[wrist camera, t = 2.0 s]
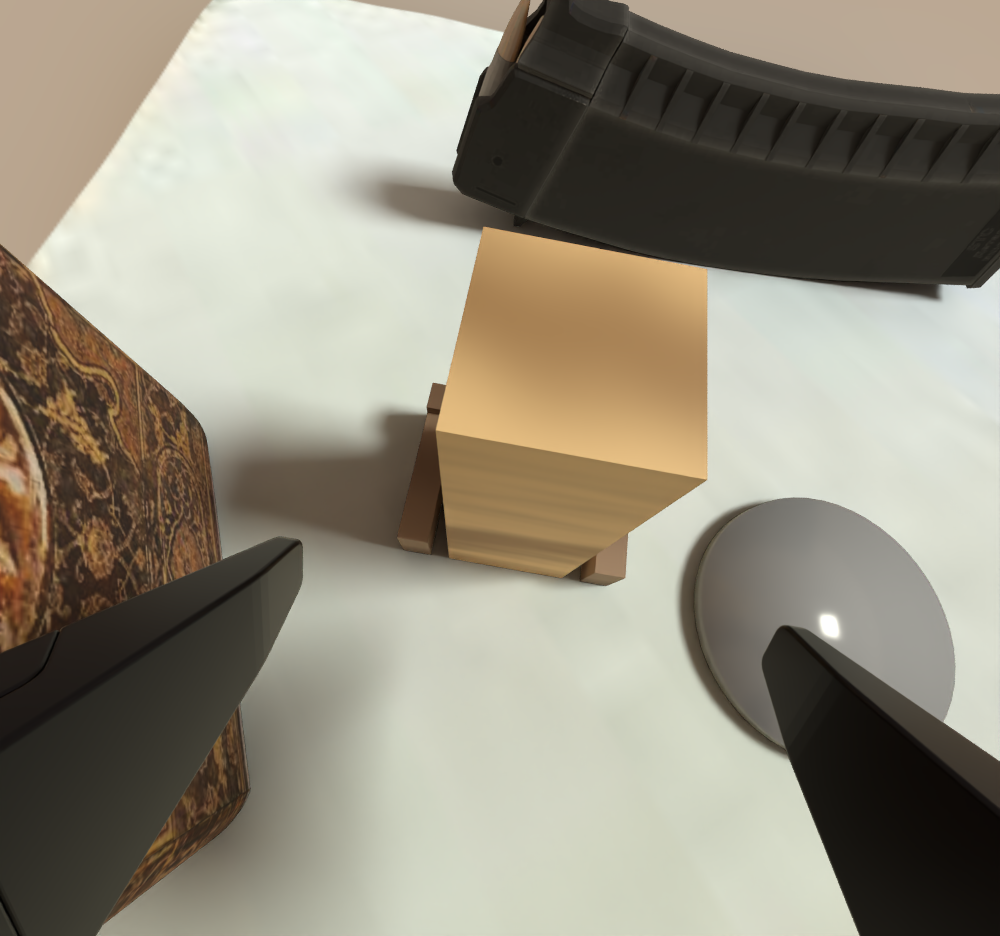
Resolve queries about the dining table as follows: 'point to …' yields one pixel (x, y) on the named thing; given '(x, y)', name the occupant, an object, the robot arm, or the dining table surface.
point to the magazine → (729, 154)
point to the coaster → (818, 604)
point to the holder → (428, 501)
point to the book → (102, 512)
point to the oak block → (570, 401)
